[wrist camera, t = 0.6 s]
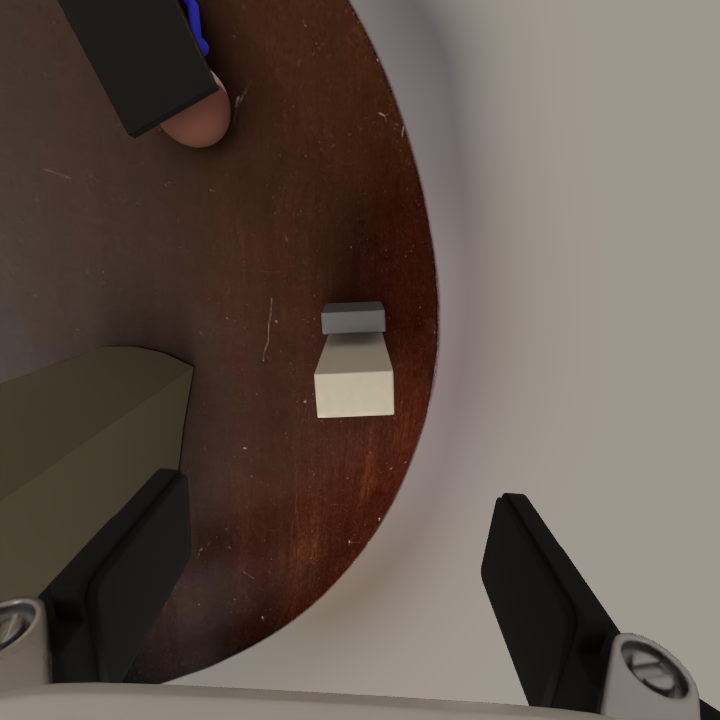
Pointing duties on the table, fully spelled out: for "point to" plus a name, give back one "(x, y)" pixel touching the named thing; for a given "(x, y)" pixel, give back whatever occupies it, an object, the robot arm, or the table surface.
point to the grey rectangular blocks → (353, 317)
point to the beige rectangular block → (354, 376)
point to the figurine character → (153, 66)
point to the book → (81, 453)
